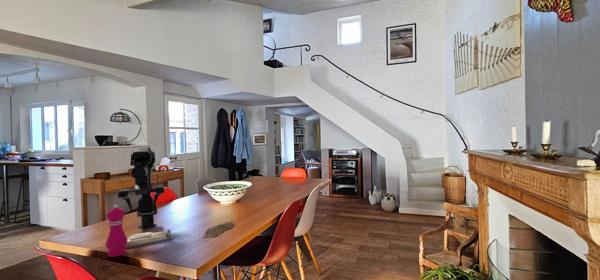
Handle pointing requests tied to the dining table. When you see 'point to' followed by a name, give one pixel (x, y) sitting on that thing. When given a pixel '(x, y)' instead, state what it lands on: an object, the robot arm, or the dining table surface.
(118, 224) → the pepper mill
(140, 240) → the birch offcut stack
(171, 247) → the dining table surface
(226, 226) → the wooden fragment
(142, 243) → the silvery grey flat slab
